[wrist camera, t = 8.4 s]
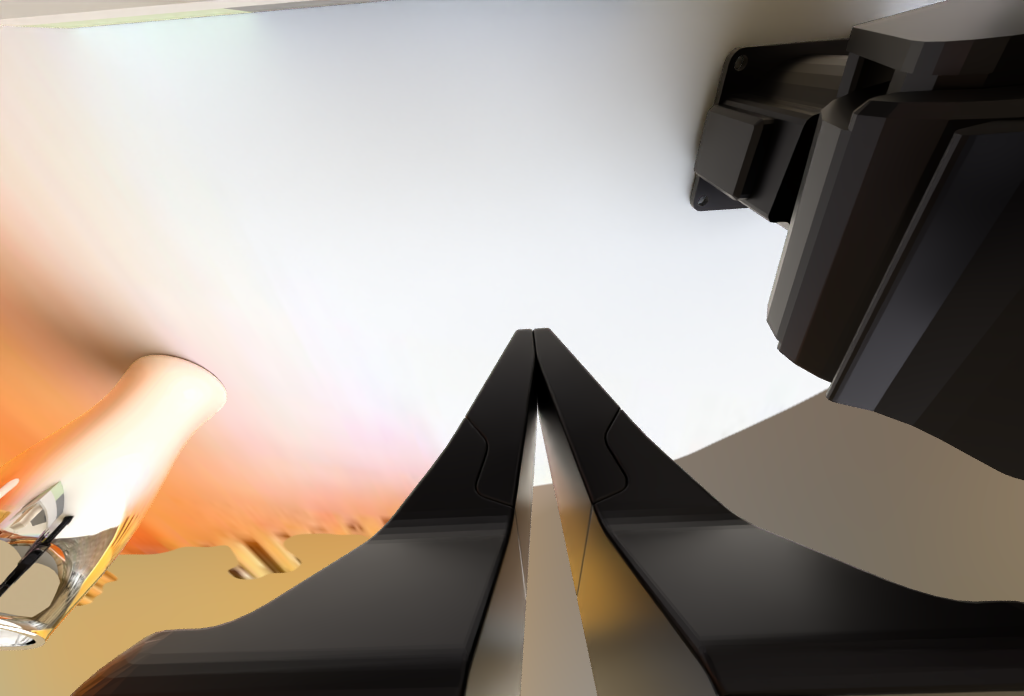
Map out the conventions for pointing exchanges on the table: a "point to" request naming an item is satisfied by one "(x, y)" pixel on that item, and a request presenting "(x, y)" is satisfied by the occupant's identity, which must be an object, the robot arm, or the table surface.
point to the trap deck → (136, 10)
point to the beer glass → (92, 491)
